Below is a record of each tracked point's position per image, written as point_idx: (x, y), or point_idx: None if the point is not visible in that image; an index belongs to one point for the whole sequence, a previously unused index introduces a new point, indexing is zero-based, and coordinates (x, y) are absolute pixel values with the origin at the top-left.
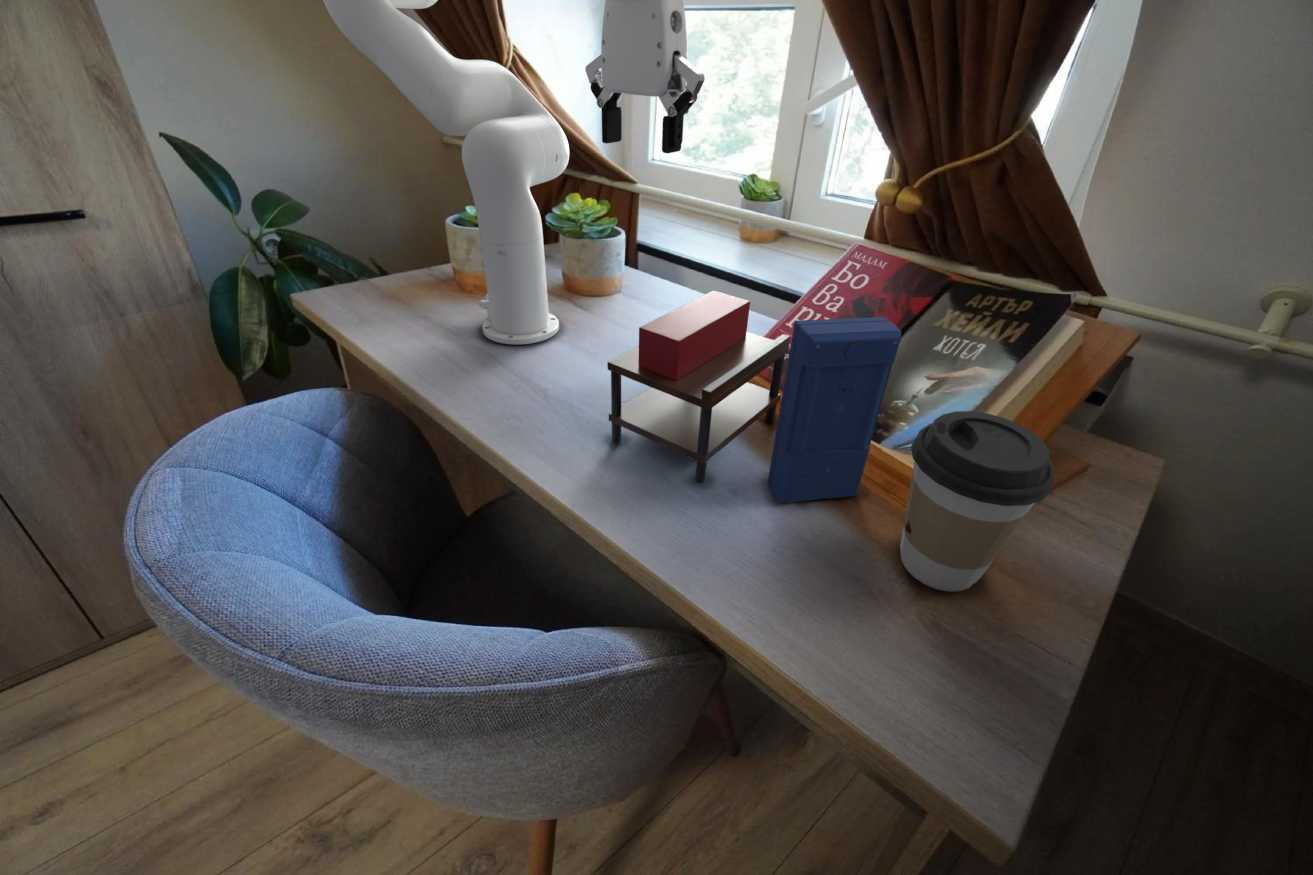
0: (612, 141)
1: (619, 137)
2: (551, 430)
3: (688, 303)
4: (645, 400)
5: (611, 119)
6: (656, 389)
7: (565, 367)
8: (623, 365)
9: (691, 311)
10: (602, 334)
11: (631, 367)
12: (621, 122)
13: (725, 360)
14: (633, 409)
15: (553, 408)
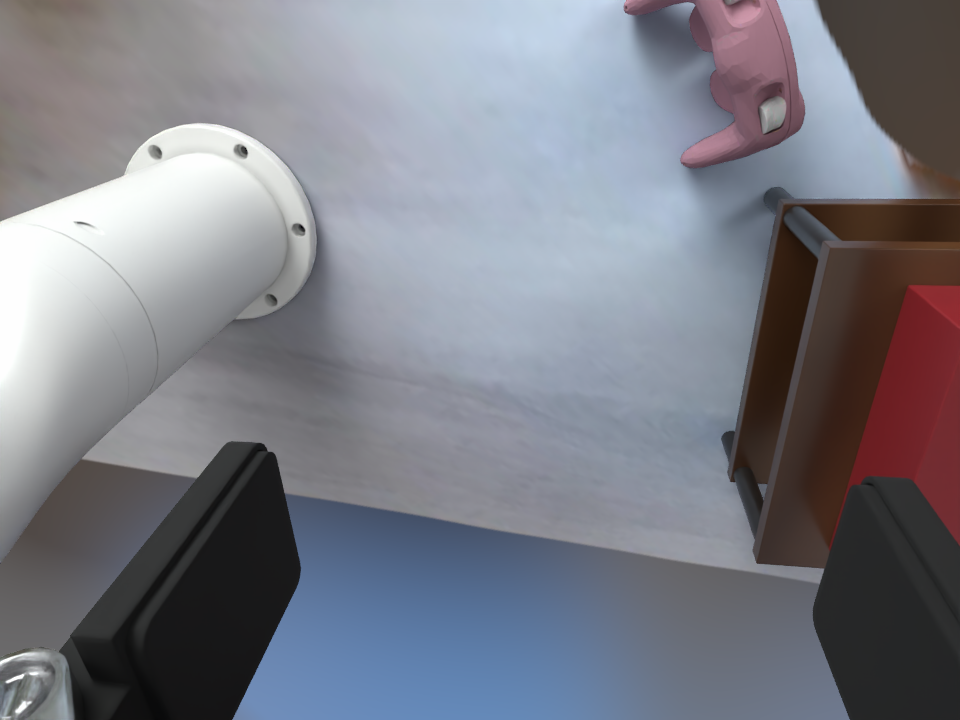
0: (290, 532)
1: (265, 478)
2: (610, 472)
3: (925, 463)
4: (770, 413)
5: (220, 665)
6: (768, 367)
7: (457, 298)
8: (796, 560)
9: (956, 500)
10: (383, 94)
11: (816, 557)
12: (205, 536)
13: None
14: (766, 450)
15: (562, 424)
